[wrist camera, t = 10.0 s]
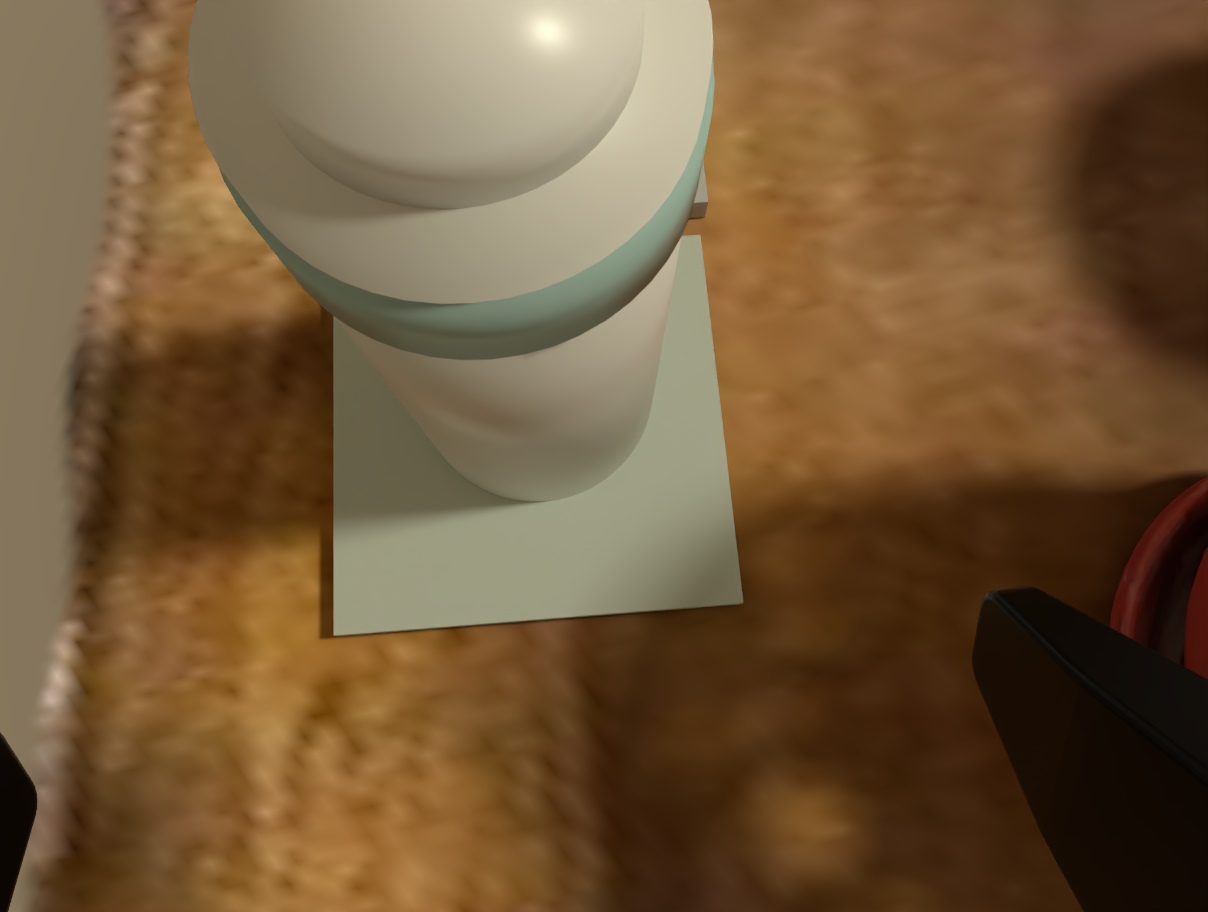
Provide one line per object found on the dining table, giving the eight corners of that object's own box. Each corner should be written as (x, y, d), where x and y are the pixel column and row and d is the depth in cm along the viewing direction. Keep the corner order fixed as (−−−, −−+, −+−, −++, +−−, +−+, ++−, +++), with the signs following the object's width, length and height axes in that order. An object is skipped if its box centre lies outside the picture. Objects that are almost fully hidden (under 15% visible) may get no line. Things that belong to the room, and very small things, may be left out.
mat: (741, 604, 22) (743, 602, 21) (338, 636, 21) (333, 635, 21) (698, 241, 24) (700, 234, 24) (337, 267, 24) (333, 260, 24)
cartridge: (668, 494, 22) (771, 214, 8) (422, 515, 22) (117, 266, 8) (644, 269, 23) (698, -285, 10) (413, 288, 23) (144, -247, 10)
